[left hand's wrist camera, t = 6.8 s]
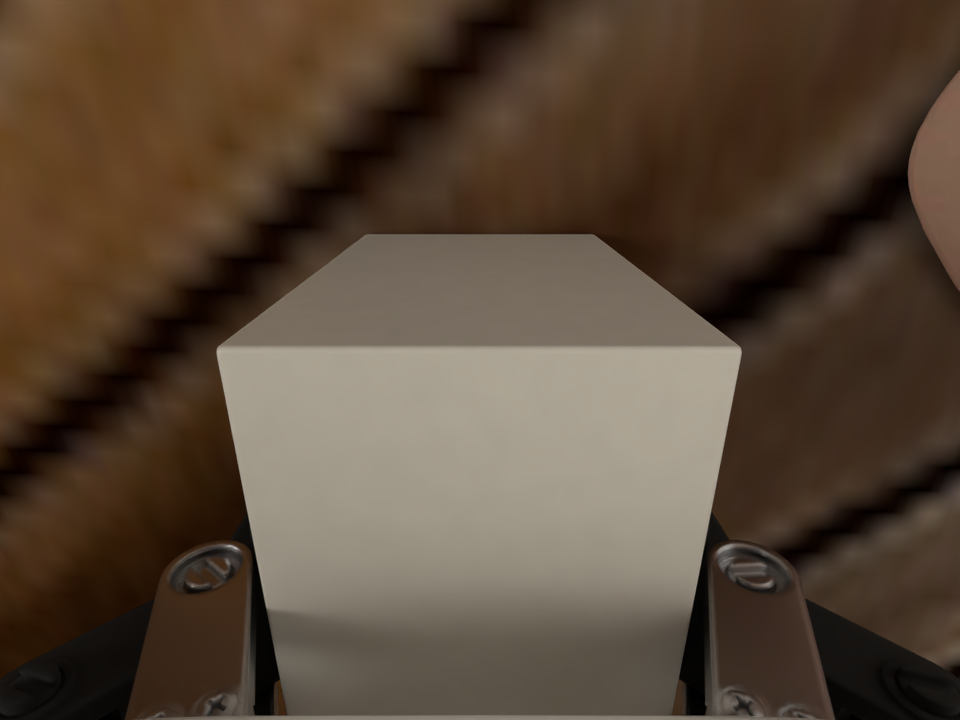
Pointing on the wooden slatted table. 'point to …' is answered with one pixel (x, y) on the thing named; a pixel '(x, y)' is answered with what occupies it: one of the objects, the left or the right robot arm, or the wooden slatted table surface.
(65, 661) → the left robot arm
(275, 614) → the post
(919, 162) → the anatomical model
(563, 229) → the wooden slatted table surface
